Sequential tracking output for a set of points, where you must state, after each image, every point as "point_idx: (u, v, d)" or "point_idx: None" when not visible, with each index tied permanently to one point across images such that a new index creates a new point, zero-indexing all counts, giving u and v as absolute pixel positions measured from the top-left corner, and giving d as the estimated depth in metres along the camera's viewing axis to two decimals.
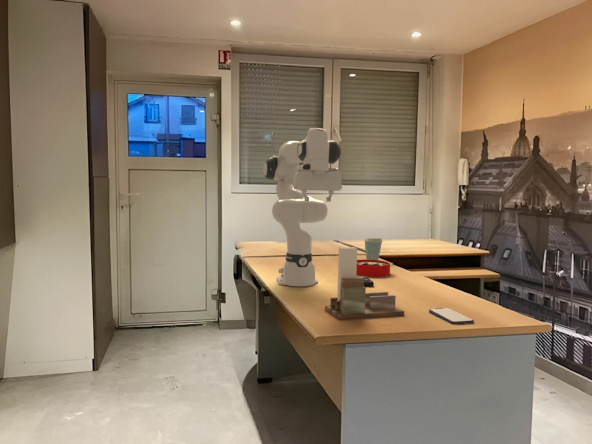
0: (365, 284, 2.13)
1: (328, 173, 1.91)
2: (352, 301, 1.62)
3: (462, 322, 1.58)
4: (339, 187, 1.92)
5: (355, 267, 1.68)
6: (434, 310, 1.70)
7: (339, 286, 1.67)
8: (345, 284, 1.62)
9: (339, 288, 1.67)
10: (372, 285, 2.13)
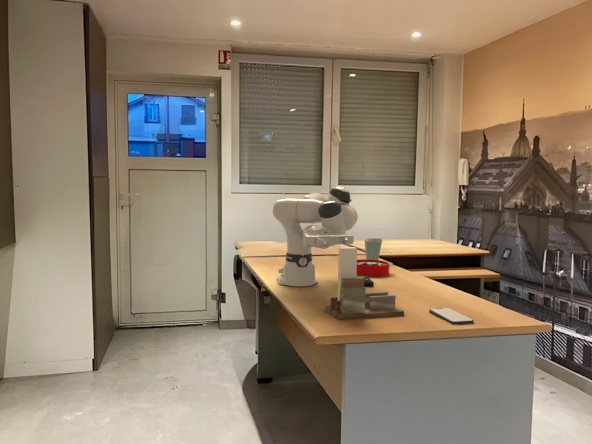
0: (365, 284, 2.13)
1: (334, 233, 1.92)
2: (352, 301, 1.62)
3: (462, 322, 1.58)
4: (350, 235, 1.88)
5: (355, 267, 1.68)
6: (434, 310, 1.70)
7: (339, 286, 1.67)
8: (345, 284, 1.62)
9: (339, 288, 1.67)
10: (372, 285, 2.13)
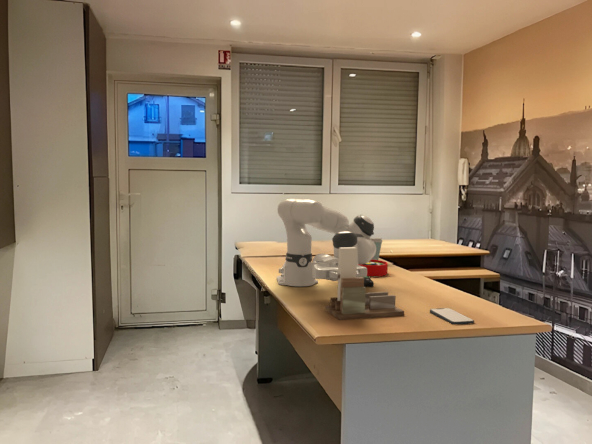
0: (365, 284, 2.12)
1: None
2: (352, 301, 1.62)
3: (462, 322, 1.58)
4: (363, 267, 1.75)
5: (355, 267, 1.68)
6: (435, 310, 1.70)
7: (339, 286, 1.67)
8: (345, 284, 1.62)
9: (339, 288, 1.67)
10: (372, 285, 2.13)
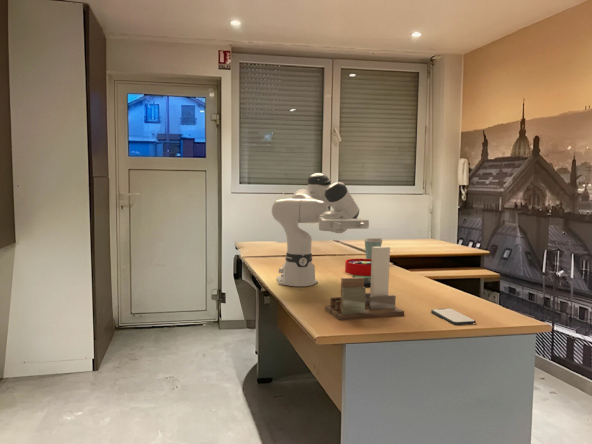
0: (364, 284, 2.12)
1: (349, 218, 1.95)
2: (352, 301, 1.62)
3: (464, 323, 1.58)
4: (365, 219, 1.92)
5: (388, 266, 1.71)
6: (436, 310, 1.70)
7: (372, 284, 1.71)
8: (345, 284, 1.62)
9: (372, 286, 1.71)
10: None
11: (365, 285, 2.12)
